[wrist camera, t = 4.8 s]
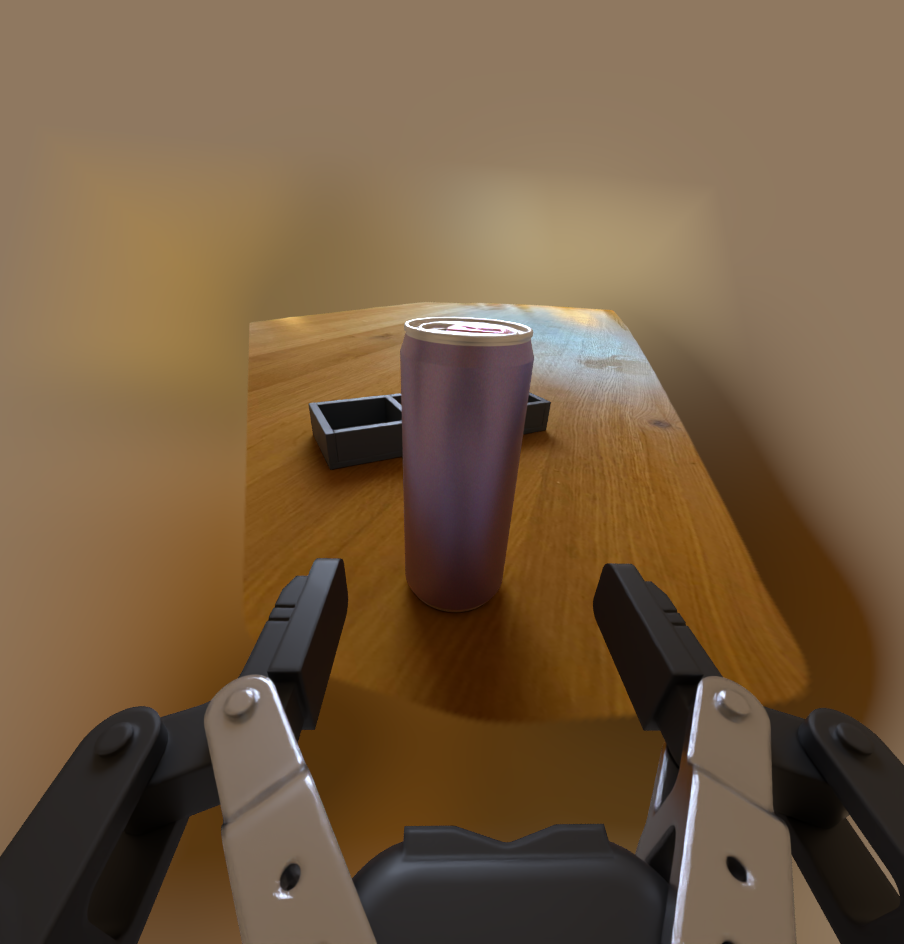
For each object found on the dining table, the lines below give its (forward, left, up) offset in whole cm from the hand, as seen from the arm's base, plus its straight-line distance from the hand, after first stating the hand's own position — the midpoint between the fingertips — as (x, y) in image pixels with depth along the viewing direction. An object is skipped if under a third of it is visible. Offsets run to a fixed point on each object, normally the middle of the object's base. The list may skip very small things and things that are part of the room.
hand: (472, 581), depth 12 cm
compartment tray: (+13, +30, -9) cm, 34 cm away
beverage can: (+4, +8, -9) cm, 13 cm away
